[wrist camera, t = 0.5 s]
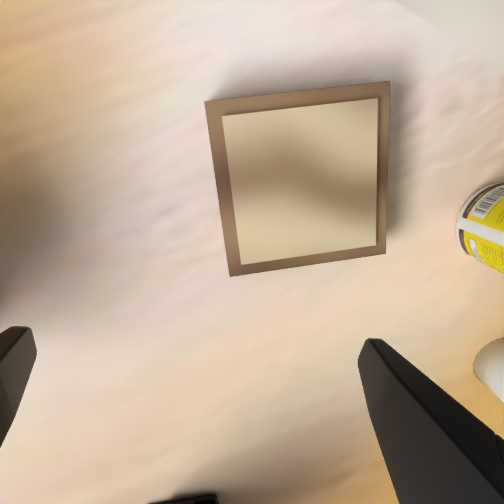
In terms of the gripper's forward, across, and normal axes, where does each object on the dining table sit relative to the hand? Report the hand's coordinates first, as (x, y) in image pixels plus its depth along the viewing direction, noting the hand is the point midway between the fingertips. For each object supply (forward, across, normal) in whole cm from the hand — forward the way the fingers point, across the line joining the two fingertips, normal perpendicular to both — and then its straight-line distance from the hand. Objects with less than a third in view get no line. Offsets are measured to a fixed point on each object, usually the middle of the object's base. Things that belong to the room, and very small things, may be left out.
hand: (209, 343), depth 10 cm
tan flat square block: (+14, -5, 0) cm, 15 cm away
